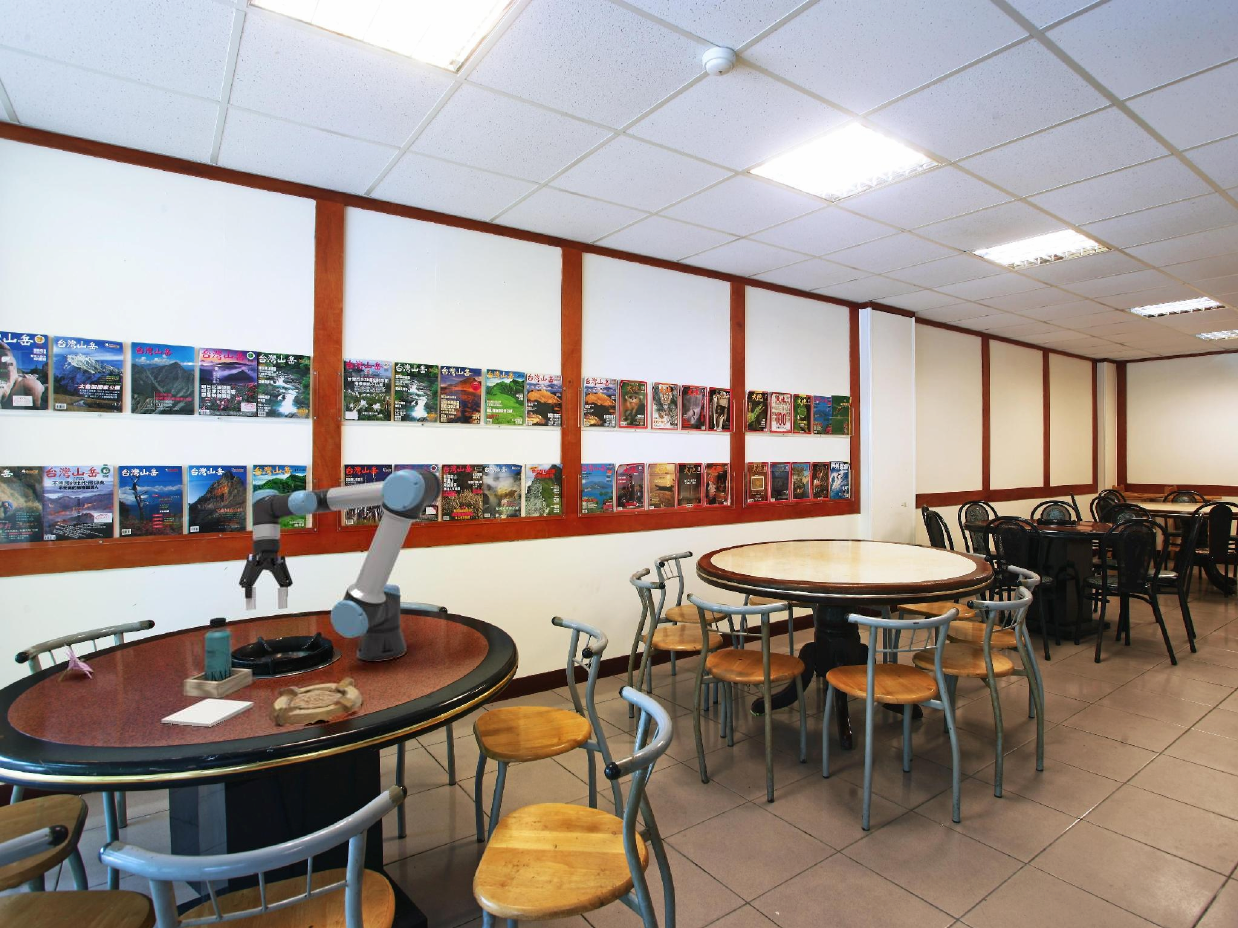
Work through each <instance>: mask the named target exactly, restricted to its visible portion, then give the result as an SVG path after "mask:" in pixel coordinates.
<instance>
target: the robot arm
mask: <svg viewBox="0 0 1238 928" xmlns="http://www.w3.org/2000/svg"><path fill="white" fill-rule="evenodd" d="M442 483H443V482H442V480H441V478H440V477H439V475H438V474H437V473H435V471H432V470H430V469H426V468H423V469H422V468H419V469H401V470H398V471H395V472H392V473H391V474H390V475H388V476H387V477H386V479H385V480H384V481H383V480H381V481H375V482H374V481H373V482H368V483H361V484H352V485H345V486H337V487H331V488H322V489H316V490H314V489H313V490H308V489H307V490H297V491H292V492H289V493H284V494H283V493H282V494H280V492H279V491H278V490H276V489H259V490H256V491H254V492H253V493H252V502H251V503H252V504H251V511H252V539H253V540H254V541H252V554H250V553H249V554H247V556H246V562H245V564H244V567H243V570H242V573H241V576H240V578H239V581H238V585H239V586H240V587H241V589H244V598H245V610H246V611H252V610H256V609H257V598H256V597H257V593H256V592H257V590H256V588H257V587H256V586H255V584H256V582H257V580H258V578H259V577H260V576H261V574H262V572H263V571H268V572H269V573H271V574H272V576H273V578H274V579H275V582H276V583H277V585H278V586H279V587H277V607H278V610H283V609H288V596H289V594H288V593H289V589H288V588H289V587H292V585H293V584H294V582H293V580H292V577H291V574H290V571H289V569H288V565H287V561H286V560H287V559H286V556H285V555H281V556H278V553H279V552H280V551H281V541H280V538H281V525H280V524H281V523H280V522H281V519H287V518H294V517H299V516H300V517H301V516H307V515H313V514H321V513H329V512H335V511H342V510H343V511H344V510H351V509H358V508H366V507H374V506H375V507H376V506H380V507H381V509H382V511H383V515H382V517H381V520H380V522H379V524H378V527H377V529H376V531H375V535H374V536H373V538H372V541H371V543H370V547H369V549H368V551H367V554H366V556H365V558H364V560H363V564H362V566H361V569H360V571H359V574H358V576H357V578H356V581H355V582H354V583H351V584H349V585H350V586H349V585H348V586H349V587H348V589H347V588H346V591H345V594H344V596H343V599H342V600H340V601H338V602H337V603H336V604H334V605H333V607H332V608H331V611H330V621H331V624H332V626H333V629H334V630H335V631H336V633H338V634H339V635H340V636H342V637H344V638H348V639H350V638H351V639H352V638H357V637H360V641H359V644H358V647H357V651H356V655H357V656H356V657H358V658H359V659H363V660H369V661H375V660H383V659H390V658H395V657H397V656H399V655H402V654H403V653H405V652H406V653H407V645H406V641H405V639H404V635H403V633H402V630H401V597H402V595H401V588H400V587H399V586H398V585H395V584H387V583H388V581H389V579H390V576H391V575H392V572H393V569H394V566H395V565H396V562H397V560H398V557H399V555H400V552H401V549H402V547H403V545H404V542H405V540H406V537H407V535H408V533H409V531H410V528H411V526H412V523H414V522H416V521H418V520H419V519H420V517H421V515H422V513H423V510H424V507H428V506H431V505H432V504H434V503H435V502H437V501H438V500H439V498H440V497H441V495H442V491H443V484H442ZM358 658H357V659H358ZM359 659H358V660H359Z"/></svg>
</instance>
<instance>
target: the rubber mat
mask: <svg viewBox="0 0 1238 928" xmlns="http://www.w3.org/2000/svg"><path fill="white" fill-rule="evenodd" d="M252 707H254V701H243V700H242V701H241V700H230V699H228V700H227V699H220V698H206V699H204V700H201V701H200V702H197V703H195V704H193V705H190V706H188V707H186V708H185V709H182V710H179V711H178V712H175V713H173V714H170V715H169V716H166V717H163V718H162V719H161V723H171V724H170V725H172V723H173V724H179V725H178V726H183V725H192V726H191V727H193V726H209V727H211V726H213V725H215V726H217V725H218V724H217V723H219V724H221V723H223V722H225V721H227V720H229V719H231V718H233V717H235V716H237V715H240V714H241V713H243V712H245V711H247V710H249V709H250V708H252ZM224 720H225V721H224ZM222 721H223V722H222ZM220 722H221V723H220ZM216 724H217V725H216ZM213 727H214V726H213ZM211 728H212V727H211Z"/></svg>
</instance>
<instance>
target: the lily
mask: <svg viewBox="0 0 1238 928" xmlns="http://www.w3.org/2000/svg"><path fill="white" fill-rule="evenodd" d="M64 646H65V647H66V649H68V651H69V653H68V652H66V651H64V652H63V653H64V654H65V655H67V656H68V658H69V661H68V663H69V664H68V668H67V669H66V670H65V671H64V672H63V673H62V674H61V677H60V678H59V679H58V682H60V681H61V680H62V678H63V677H64V676H65V674H66V673H67V672H68V671H69V670H71V669H72V670H80V671H82V672H84V673H86V674H87V675H88V677H90V678H92V676H91V674H90V673H89V672H88V671H90V672H92V673H94V671H93V669H92V668H91V667H90V666H88V664H86V663H84V662H83V661H85V660H86V659H85V658H83V657H82V658H80V660H79V658H77V657H76V655H75V654H74V652H73V651H72V649H71V648H70V647H68V646H67V645H66V644H65V643H64Z"/></svg>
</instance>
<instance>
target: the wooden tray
mask: <svg viewBox="0 0 1238 928" xmlns="http://www.w3.org/2000/svg"><path fill="white" fill-rule="evenodd" d="M252 684H253V669H247V668H235V667H234V668H233V667H232V668H231V677H230V678H228V679H225V680H223V681H221V682H214V681H205V671H204V672H202V673H200V674H197V675H195V676H192V677H190V678H189V677H188V678H187V679H184V680H183V696H188V697H189V696H190V697H202V698H211V699H221V698H223V697H226V696H228V695H230V694H233V693H235V692H236V691H239V690H241V689H243V688H246V687H247V686H249V685H252Z"/></svg>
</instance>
